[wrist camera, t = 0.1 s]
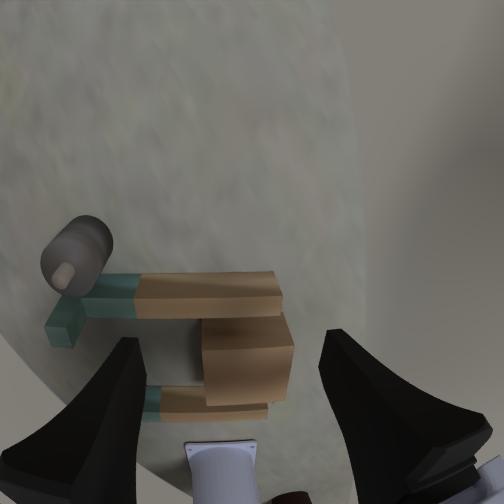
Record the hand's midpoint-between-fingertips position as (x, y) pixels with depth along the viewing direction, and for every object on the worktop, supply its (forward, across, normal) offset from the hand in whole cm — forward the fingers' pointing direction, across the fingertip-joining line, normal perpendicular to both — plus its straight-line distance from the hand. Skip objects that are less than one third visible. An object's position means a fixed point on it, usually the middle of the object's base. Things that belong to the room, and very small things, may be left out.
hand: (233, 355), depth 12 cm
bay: (+10, +4, +6) cm, 12 cm away
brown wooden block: (+10, -2, +9) cm, 14 cm away
